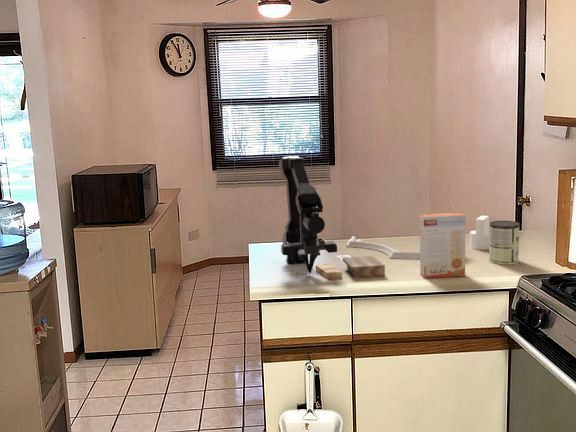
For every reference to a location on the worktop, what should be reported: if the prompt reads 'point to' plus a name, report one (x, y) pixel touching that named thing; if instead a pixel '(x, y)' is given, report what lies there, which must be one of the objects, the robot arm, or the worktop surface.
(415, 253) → the molding
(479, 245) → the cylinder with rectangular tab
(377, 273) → the laid planks
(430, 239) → the cracker box
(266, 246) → the worktop surface
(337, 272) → the oak plank
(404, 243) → the worktop surface
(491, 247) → the coffee can
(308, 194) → the robot arm
